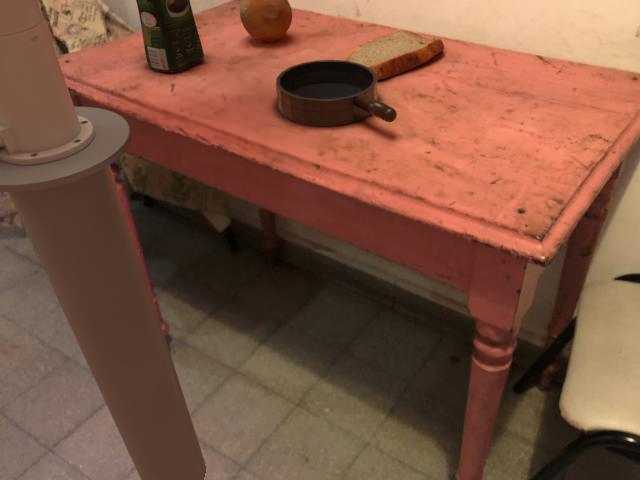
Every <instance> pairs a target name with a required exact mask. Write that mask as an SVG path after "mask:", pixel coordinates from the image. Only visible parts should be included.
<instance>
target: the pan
mask: <svg viewBox="0 0 640 480" xmlns="http://www.w3.org/2000/svg"><path fill="white" fill-rule="evenodd" d="M378 81H379V80H377V76H376V73H375V72H373V71H372V70H371V69H370V68H368V67H366V66H364V65H361V64H359V63H354V62H350V61H347V60H342V59H340V60H339V59H321V60H320V59H319V60H311V61H306V62H301V63H298V64H295V65H292V66H290V67H288V68H286V69H284V70H282V71H281V72H280V73H279V75H278V76H276V78H275V89H276V90H275V91H276V100H277V106H278V110H279V112H280V113H281V115H282V116H283V117H284V118H286V119H288V120H289V121H292V122H293V123H294V122H295V123H297V124H300V125H305V126H313V127H338V126H343V125H344V126H345V125H350V124H353V123H356V122H359V121H361V120H363V119H365V118H367V117H368V116H370V115H371V114H370V113H368V112H366V111H364V110H362V109H360V108H358V107H357V106H356V105H355V102H354V101H355V98H356V96H357V95H358V94H365V95H367V96H369V97H371V98H373V99H375V100H377V101H378V84H379V83H378Z"/></svg>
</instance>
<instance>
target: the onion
mask: <svg viewBox="0 0 640 480" xmlns="http://www.w3.org/2000/svg"><path fill="white" fill-rule="evenodd" d="M239 19H240V22H241V24H242V26H243V28H244V29H245V31H246V33H248V35H249V36H250V37H252V38H253V39H256V40H260V41H264V42H271V43H273V42H277V41H278V40H279V39H280V38H282V37H283V36H284V35H285V34H286V33H287V32H288V31H289V29H290V27H291V25H292V21H293V10H292V7H291V4H290V1H289V0H241V3H240V6H239Z"/></svg>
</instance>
